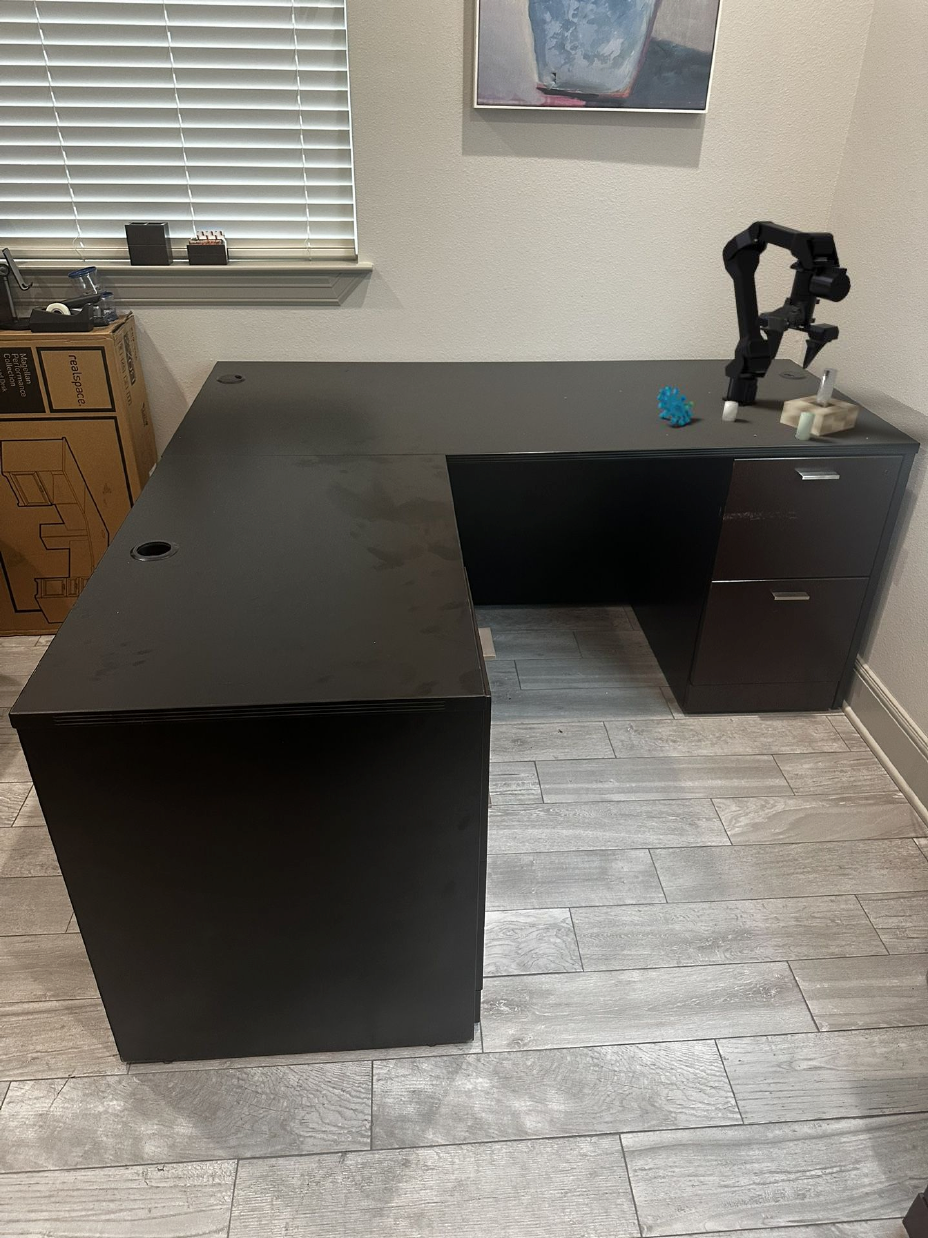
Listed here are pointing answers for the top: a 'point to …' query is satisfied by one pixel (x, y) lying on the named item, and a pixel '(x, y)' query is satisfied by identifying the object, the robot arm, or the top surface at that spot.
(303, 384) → the top surface
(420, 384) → the top surface
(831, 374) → the long pin
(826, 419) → the hole block
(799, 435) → the mid pin
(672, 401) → the blue spiky toy
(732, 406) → the short pin
